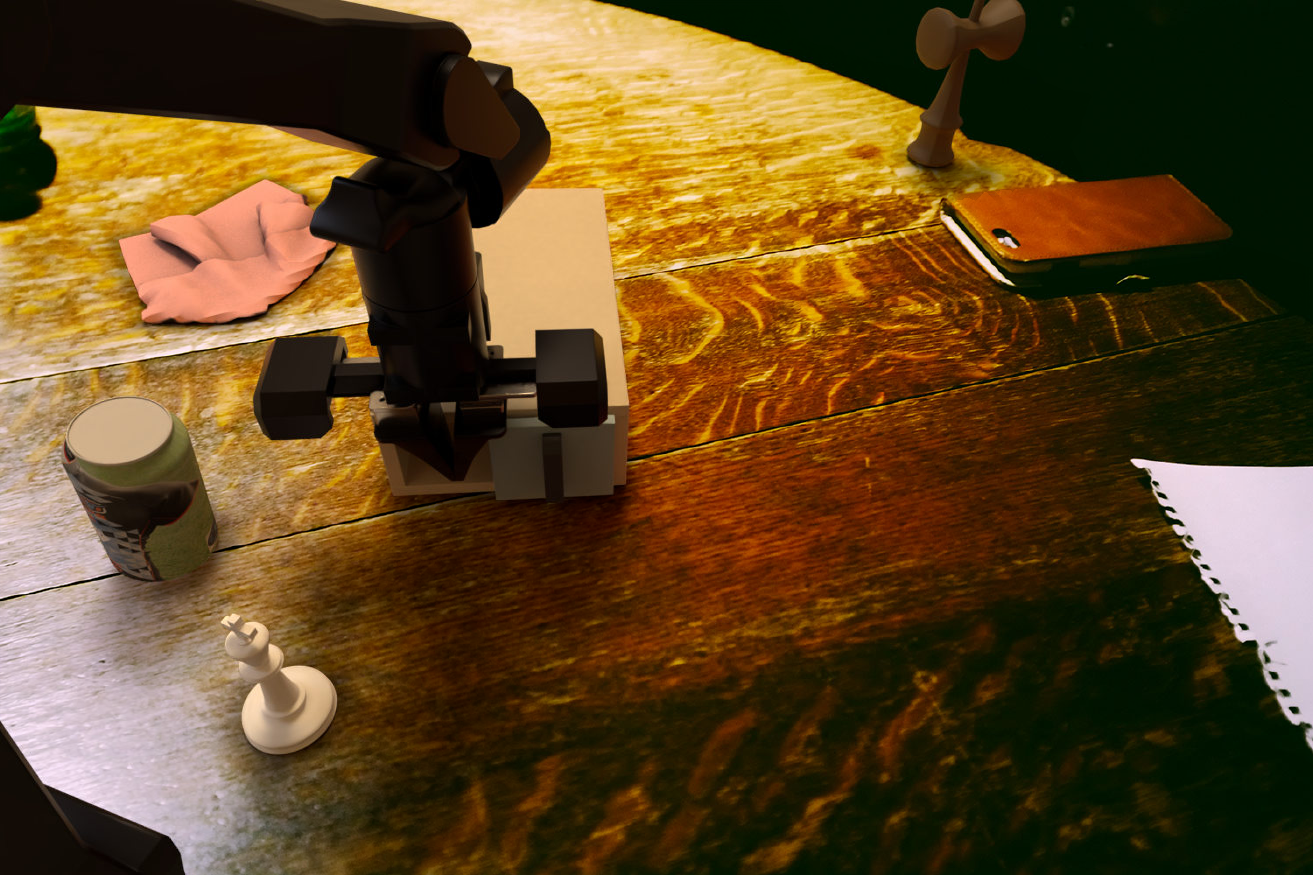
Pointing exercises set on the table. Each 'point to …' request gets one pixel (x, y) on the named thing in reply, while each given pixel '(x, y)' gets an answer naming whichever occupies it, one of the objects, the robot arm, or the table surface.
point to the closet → (537, 314)
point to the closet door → (553, 461)
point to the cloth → (225, 257)
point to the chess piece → (278, 692)
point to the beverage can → (141, 487)
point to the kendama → (959, 66)
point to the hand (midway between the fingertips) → (458, 475)
